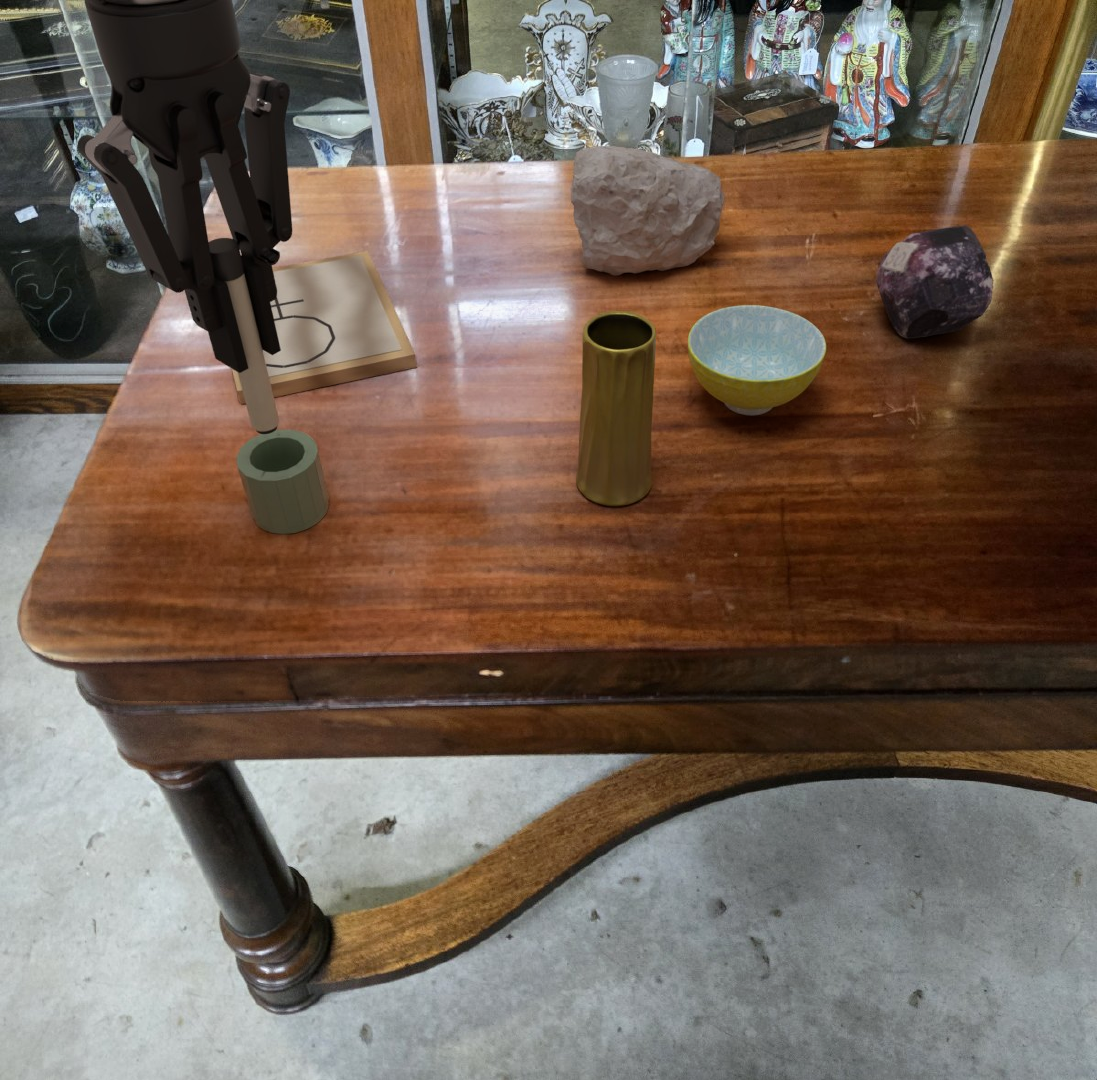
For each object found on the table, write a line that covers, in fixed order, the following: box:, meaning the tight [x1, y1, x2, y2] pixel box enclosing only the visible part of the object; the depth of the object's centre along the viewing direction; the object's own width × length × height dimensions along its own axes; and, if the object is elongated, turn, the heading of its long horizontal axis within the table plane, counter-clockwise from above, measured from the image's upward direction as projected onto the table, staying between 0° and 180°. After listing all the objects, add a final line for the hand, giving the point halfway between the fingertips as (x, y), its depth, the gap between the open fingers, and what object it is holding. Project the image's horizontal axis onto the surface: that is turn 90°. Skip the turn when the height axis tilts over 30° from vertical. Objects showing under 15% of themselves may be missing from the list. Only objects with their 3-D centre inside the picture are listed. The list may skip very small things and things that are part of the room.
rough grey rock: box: [570, 145, 725, 276], centre depth 103 cm, size 16×9×15 cm, turn 108°
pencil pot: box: [235, 428, 330, 535], centre depth 80 cm, size 6×6×6 cm
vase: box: [575, 310, 657, 507], centre depth 78 cm, size 6×6×14 cm
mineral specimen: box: [875, 224, 995, 339], centre depth 96 cm, size 10×10×10 cm
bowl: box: [687, 304, 827, 416], centre depth 89 cm, size 11×12×6 cm
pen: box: [208, 237, 280, 435], centre depth 71 cm, size 2×2×15 cm
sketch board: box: [231, 250, 418, 405], centre depth 99 cm, size 16×20×2 cm
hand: (248, 354), depth 71 cm, fingers closed on pen, 2 cm apart
